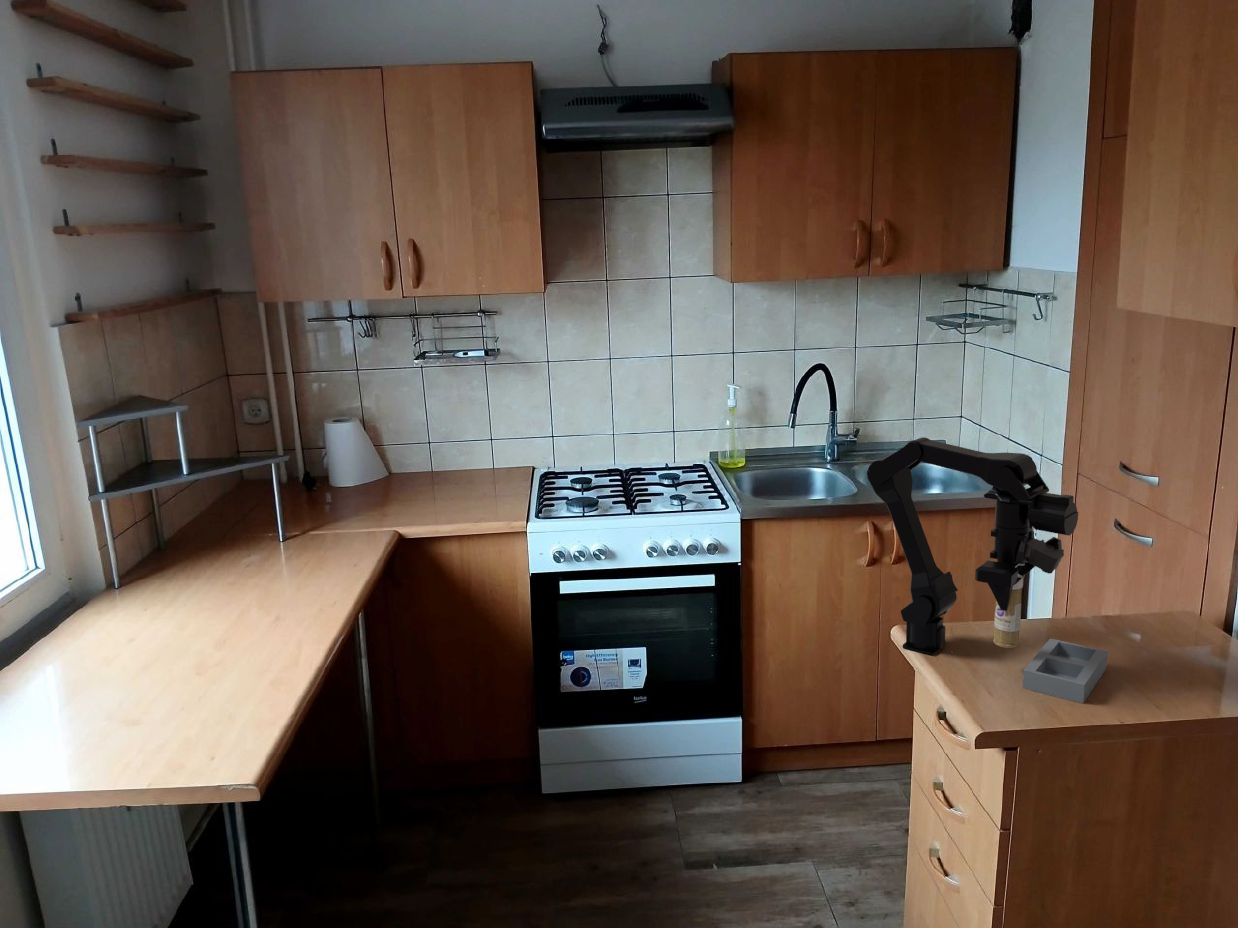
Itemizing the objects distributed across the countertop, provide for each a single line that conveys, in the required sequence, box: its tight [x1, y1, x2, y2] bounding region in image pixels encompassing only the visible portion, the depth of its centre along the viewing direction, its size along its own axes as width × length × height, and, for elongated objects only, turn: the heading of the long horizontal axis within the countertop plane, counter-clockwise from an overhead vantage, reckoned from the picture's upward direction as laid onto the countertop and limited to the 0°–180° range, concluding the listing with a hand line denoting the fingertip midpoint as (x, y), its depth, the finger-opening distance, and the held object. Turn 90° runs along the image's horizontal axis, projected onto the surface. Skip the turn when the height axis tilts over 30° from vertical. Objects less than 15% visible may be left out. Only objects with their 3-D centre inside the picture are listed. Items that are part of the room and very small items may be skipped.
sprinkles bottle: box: [993, 574, 1024, 649], centre depth 169 cm, size 5×5×13 cm
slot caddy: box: [1022, 638, 1108, 704], centre depth 167 cm, size 10×16×4 cm, turn 140°
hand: (1008, 605), depth 169 cm, fingers closed on sprinkles bottle, 4 cm apart
